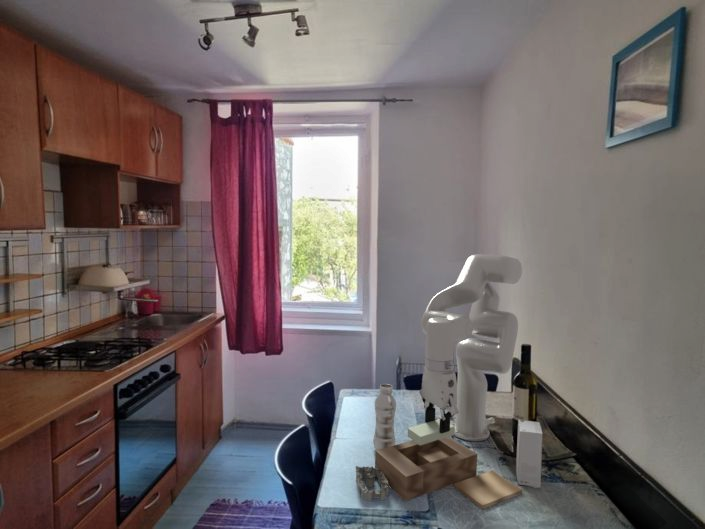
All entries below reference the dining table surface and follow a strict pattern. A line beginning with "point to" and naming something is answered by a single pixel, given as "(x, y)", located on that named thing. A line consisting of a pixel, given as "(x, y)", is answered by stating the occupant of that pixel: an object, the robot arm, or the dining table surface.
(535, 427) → the skincare box
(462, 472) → the pocket board
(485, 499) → the plate
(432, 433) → the slab
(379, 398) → the plastic bottle
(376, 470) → the egg carton
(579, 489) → the dining table surface
